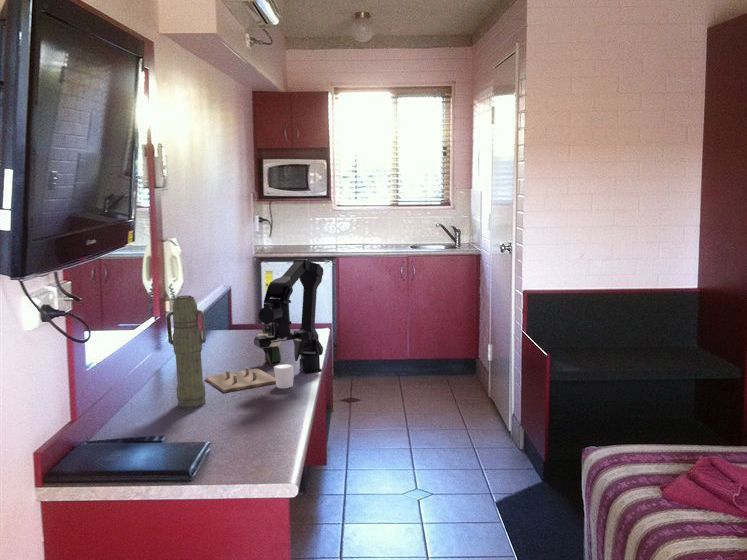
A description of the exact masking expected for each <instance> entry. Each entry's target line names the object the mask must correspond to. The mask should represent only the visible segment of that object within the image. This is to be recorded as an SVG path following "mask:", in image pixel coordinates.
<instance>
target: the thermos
mask: <svg viewBox="0 0 747 560" xmlns="http://www.w3.org/2000/svg"><path fill="white" fill-rule="evenodd" d="M171 307H172V311H169V312H168V314H166V317H165V319H166V329H167V336H168V337H167V339H168V340H167V342H168V343H169V344H170V345H172V347H173V352H174V355H175V363H176V377H177V380H176V381H177V385H176V389H175V391H176V398H177V406H178V407H179V408H180V409H181V408H182V409H193V408H198V407H199V406H200V407H203V406H204V405H206V403H205V402H206V394H207V393H206V385H205V382H204V380H203V365H202V350H203V344H204V343H205V344H206V341H207V333H206V320H205V317H206V316H205V313H204V311H202V310H200V309H198V305H197V301H196V298H195V297H194V296H192V295H180V296H176V297H174V299H173V303H172V306H171ZM199 315H201V327H202V329H201V330H202V331H201V330H200V326H199V324H198V323H199V321H198V320H199ZM171 316H172V318H173V319H172V321H173V324H174V326H173V333H172V321H171ZM200 407H199V408H200Z"/></svg>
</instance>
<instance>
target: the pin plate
mask: <svg viewBox="0 0 747 560" xmlns="http://www.w3.org/2000/svg"><path fill="white" fill-rule="evenodd" d="M244 369H245V370H244ZM244 369H243V370H240V371H239V370H238V371H233V372H230V370H226V371H225V372H226V373H223V374H222V373H221V374H216V375H209V376H205V377H204V378H205V379H204V380H205V381H206V382H208V383H209V384H211V385H212V386H213V387H215V388H216V387H217V389H218V390H219V389H220V390H219V391H221V392H222V391H223V392H222V393H224V392H225V393H230V392H229V391H231V392H235V391H234V390H236V391H240V389H242V390H246V389H245V388H247V389H251V388H250V387H253V388H257V386H258V387H262V385H264V386H270V385H274V383H275V384H276V379H275V376H272V375H270V374H269V373H267V372H265V371H263V370H261V369H259V368H258V367H257V368H252V369H250V368H249V367H245V368H244Z"/></svg>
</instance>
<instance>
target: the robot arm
mask: <svg viewBox="0 0 747 560" xmlns="http://www.w3.org/2000/svg"><path fill="white" fill-rule="evenodd" d="M290 265H291V264H290ZM323 276H324V268H323V267H322V265H321V264H320V263H316V262H312V261H310V260H308V259H306V258H296V259H294V260H293V263H292V265H291V266H290V267H288V269H287V270H286V271H285V272H284V274H282V276H280V277H277V278H274V279H272V281H271V282H269V284H268V286H267V288H266V291H265V296H264V300H263V304H262V305H263V307H261V309H260V310H259V313H258V319H259V320H260V322H261V323H262V325H261V333H262V332H263V334H267V333H268V336H274V337H270V338H269V337H267V336H265V335H264V336H258V335H257V336H255V337H254V338H253V346H256V347H257V348H260V349H261V350H262V351H263V352H264V355H265V354H266V356H267V358H268V361H269V362H268V363H269V365H270V366H273V363H274V362H273V356H272V347H271V346H270V345H271V343H274V342H280V341H283V342H286V341H293V345H294V347H293V348H294V350H293V351H294V352H293V353H294V355H293V356H294V357H293V358H294V361H295V362H297V361H298V360H299V371H300V372H303V373H305V374H312V373H316V372H317V373H318V372H321V371H323V368H321V362H320V361H321V360H320V356H322V355H323V353H324V346H323V345H322V343H321V342H320V340H319V338H320V337H319V333H318V331H317V329H316V328H315V327H316V326H315V325H316V307H317V294H318V293H317V291H318V288H319V286H320V284H321V283H322V281H323ZM297 281H299V282H300V283H301V285H302V289H303V291H302V292H303V293H302V307H301V308H302V309H301V325H300V328H299V329H297V330H294V331H293V332H292V333H291V325H292V321H291V319H290V318H291V317H290V304H291V303H292V300H291V299H290V297H291V295H292V294H293V291H294V289H293V287H294V285H295V284H296V283H297ZM270 324H271V325H270ZM280 338H281V339H280ZM299 357H300V358H299Z"/></svg>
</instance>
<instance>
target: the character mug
mask: <svg viewBox="0 0 747 560" xmlns="http://www.w3.org/2000/svg"><path fill="white" fill-rule="evenodd" d="M264 335H265V336H267V337H269V338H270V337H274V336H268V333H267V334H263V332H262V331H261V333H258V334H257V337H258V336H264ZM280 339H281V338H280ZM282 342H284V341H280V342H274V343H271V345H270V346H271V347H272V356H273V363H276V362H279V361H281V360H282V356H281V350H280V347H279V346H280V345H281V344H282ZM264 361H265V363H266V362H267V363H269V361H268V358H267V356H266V354H265V353H264Z"/></svg>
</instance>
